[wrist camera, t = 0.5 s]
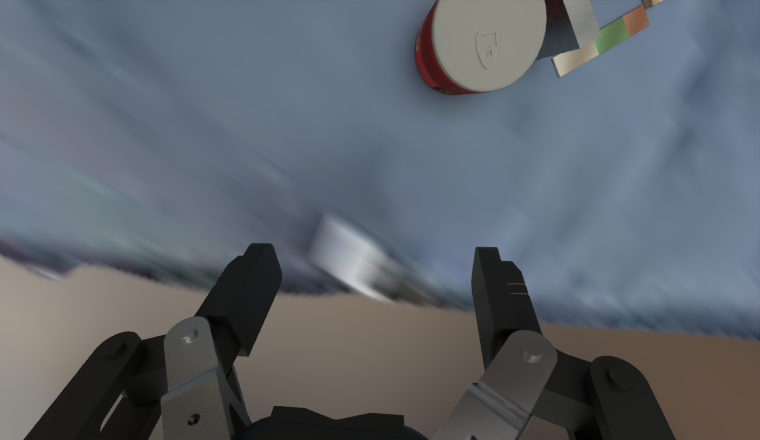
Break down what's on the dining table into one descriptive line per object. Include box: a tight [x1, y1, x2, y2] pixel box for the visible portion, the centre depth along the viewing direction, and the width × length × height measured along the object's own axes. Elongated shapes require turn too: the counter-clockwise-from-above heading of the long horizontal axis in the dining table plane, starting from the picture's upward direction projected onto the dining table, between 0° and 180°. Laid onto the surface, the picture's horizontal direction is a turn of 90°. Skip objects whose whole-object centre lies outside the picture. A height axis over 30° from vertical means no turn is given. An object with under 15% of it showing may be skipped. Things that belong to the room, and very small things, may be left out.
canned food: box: [415, 0, 547, 95], centre depth 27 cm, size 8×8×11 cm
